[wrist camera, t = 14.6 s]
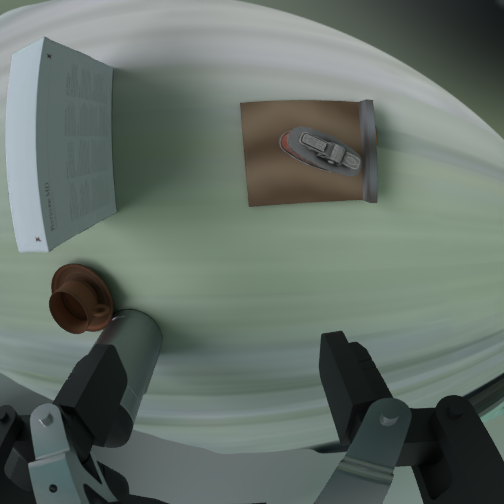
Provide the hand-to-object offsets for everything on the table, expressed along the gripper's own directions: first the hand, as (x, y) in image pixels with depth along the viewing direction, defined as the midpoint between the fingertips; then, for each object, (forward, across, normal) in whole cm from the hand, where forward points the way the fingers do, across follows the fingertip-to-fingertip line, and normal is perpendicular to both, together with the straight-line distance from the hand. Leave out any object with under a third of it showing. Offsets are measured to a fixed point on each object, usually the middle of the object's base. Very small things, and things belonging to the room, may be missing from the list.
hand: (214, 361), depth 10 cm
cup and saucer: (+28, +26, +11) cm, 40 cm away
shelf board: (+28, -10, -7) cm, 31 cm away
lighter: (+27, -10, -7) cm, 30 cm away
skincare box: (+28, +18, -12) cm, 36 cm away
